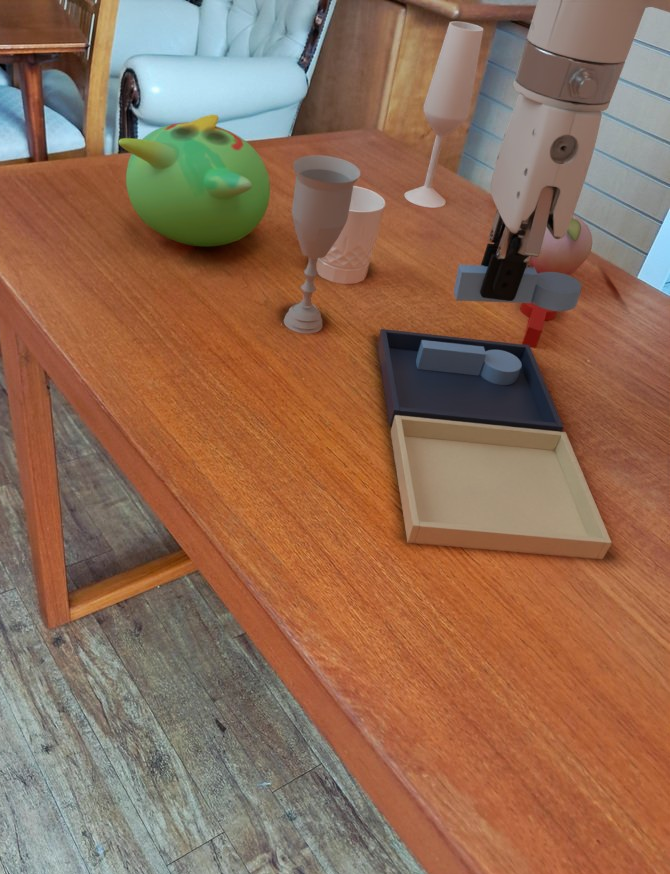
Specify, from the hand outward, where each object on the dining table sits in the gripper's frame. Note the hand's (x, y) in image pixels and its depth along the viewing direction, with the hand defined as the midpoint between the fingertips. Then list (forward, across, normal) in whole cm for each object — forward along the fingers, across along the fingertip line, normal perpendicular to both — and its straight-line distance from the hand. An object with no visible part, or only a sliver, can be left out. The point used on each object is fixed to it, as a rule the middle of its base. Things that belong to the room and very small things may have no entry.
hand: (494, 291), depth 73 cm
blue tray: (+14, +3, -1) cm, 14 cm away
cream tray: (+14, -13, -1) cm, 19 cm away
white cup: (+14, +28, +11) cm, 33 cm away
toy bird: (+14, +33, +30) cm, 47 cm away
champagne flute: (+14, +57, -4) cm, 59 cm away
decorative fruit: (+14, +34, -18) cm, 41 cm away
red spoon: (+14, +20, -13) cm, 28 cm away
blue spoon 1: (0, 0, -2) cm, 2 cm away
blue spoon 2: (+13, +7, -3) cm, 15 cm away
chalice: (+14, +14, +16) cm, 25 cm away
